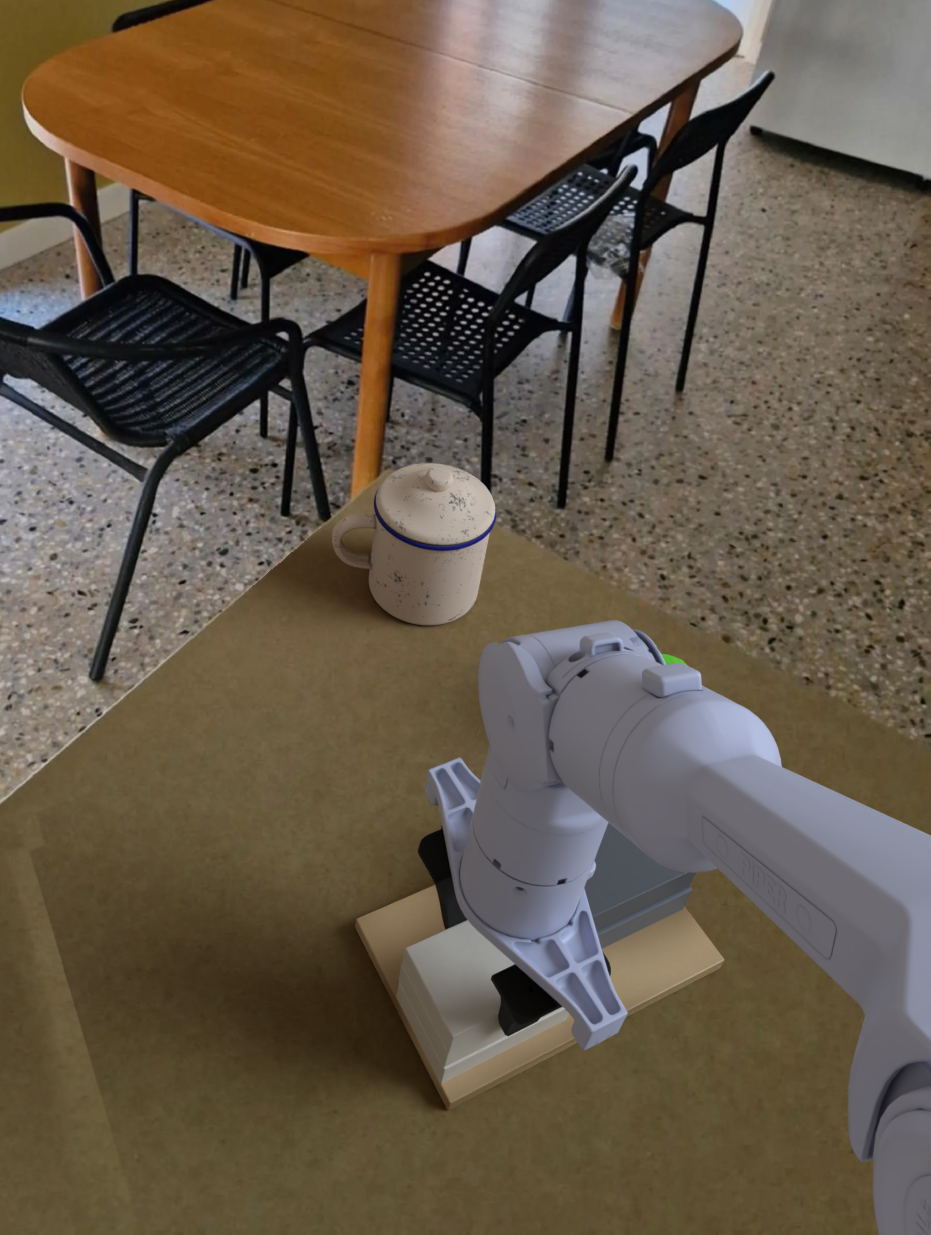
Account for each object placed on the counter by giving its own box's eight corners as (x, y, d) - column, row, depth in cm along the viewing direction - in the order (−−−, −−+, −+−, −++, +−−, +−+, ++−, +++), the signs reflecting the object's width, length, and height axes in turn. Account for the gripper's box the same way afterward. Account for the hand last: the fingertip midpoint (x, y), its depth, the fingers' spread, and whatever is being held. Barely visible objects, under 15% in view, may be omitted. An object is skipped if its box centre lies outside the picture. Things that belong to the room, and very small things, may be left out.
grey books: (683, 908, 67) (703, 869, 64) (560, 969, 63) (575, 930, 60) (623, 827, 71) (639, 786, 68) (503, 880, 67) (515, 839, 64)
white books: (566, 1020, 61) (579, 988, 59) (440, 1084, 58) (448, 1054, 56) (516, 938, 64) (526, 905, 62) (394, 995, 61) (401, 963, 59)
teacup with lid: (472, 548, 91) (492, 436, 84) (488, 631, 84) (512, 517, 77) (326, 545, 90) (334, 432, 83) (330, 629, 83) (339, 513, 76)
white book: (578, 988, 59) (585, 971, 58) (448, 1053, 56) (452, 1037, 55) (526, 906, 62) (532, 889, 61) (401, 964, 59) (404, 947, 58)
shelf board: (720, 968, 65) (725, 959, 64) (447, 1111, 58) (449, 1103, 57) (608, 816, 72) (611, 807, 72) (354, 927, 65) (355, 918, 65)
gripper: (709, 934, 47) (635, 1072, 55) (522, 684, 57) (484, 834, 65) (572, 1004, 44) (516, 1138, 53) (400, 729, 54) (377, 879, 62)
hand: (490, 973), depth 59 cm, fingers closed on white book, 5 cm apart
